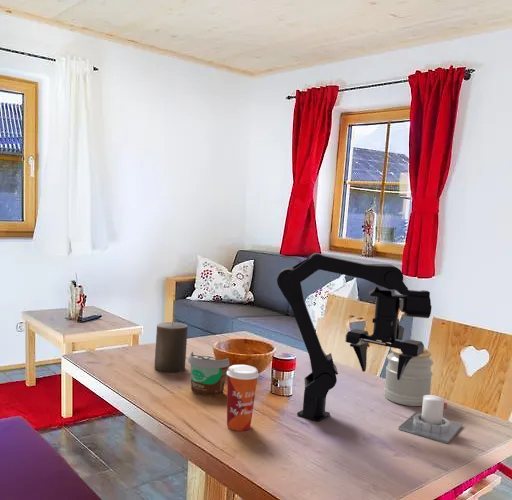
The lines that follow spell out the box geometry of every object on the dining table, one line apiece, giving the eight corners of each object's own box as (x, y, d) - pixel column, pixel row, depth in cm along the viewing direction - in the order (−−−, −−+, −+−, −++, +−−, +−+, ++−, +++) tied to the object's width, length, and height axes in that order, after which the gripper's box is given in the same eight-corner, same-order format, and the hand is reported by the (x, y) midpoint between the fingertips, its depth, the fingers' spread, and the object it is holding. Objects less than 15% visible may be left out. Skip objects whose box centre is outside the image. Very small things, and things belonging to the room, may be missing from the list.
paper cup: (230, 434, 123) (235, 374, 122) (217, 421, 130) (221, 364, 129) (260, 430, 126) (265, 372, 125) (246, 418, 133) (251, 362, 132)
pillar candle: (182, 373, 165) (185, 325, 164) (151, 370, 165) (154, 322, 164) (187, 364, 175) (190, 319, 174) (157, 362, 175) (160, 316, 174)
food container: (178, 391, 149) (180, 355, 148) (189, 385, 155) (191, 351, 154) (218, 400, 145) (220, 363, 144) (227, 393, 150) (230, 358, 150)
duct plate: (448, 443, 126) (448, 435, 126) (398, 429, 133) (399, 421, 133) (462, 426, 138) (463, 418, 138) (416, 413, 145) (416, 406, 144)
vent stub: (423, 428, 133) (426, 400, 133) (418, 420, 138) (421, 394, 138) (447, 430, 133) (450, 403, 132) (441, 422, 138) (444, 396, 137)
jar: (437, 400, 157) (443, 341, 155) (416, 410, 147) (422, 347, 146) (396, 388, 165) (402, 331, 164) (375, 397, 156) (380, 337, 155)
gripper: (433, 317, 137) (427, 377, 138) (364, 305, 147) (359, 361, 148) (419, 322, 127) (413, 387, 129) (347, 310, 138) (342, 369, 139)
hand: (381, 375), depth 136 cm, fingers open, 9 cm apart
